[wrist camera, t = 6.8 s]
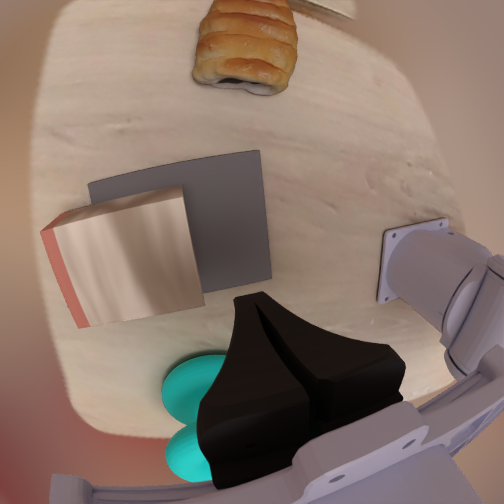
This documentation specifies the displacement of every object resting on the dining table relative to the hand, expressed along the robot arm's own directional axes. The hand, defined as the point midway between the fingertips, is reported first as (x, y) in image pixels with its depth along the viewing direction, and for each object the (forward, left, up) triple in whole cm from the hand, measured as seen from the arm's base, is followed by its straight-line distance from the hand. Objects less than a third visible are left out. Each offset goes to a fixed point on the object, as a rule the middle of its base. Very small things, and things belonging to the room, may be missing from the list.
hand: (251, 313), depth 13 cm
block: (+2, -1, -7) cm, 8 cm away
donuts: (+4, +15, -10) cm, 18 cm away
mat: (+3, -1, -10) cm, 10 cm away
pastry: (-3, -14, -10) cm, 18 cm away
